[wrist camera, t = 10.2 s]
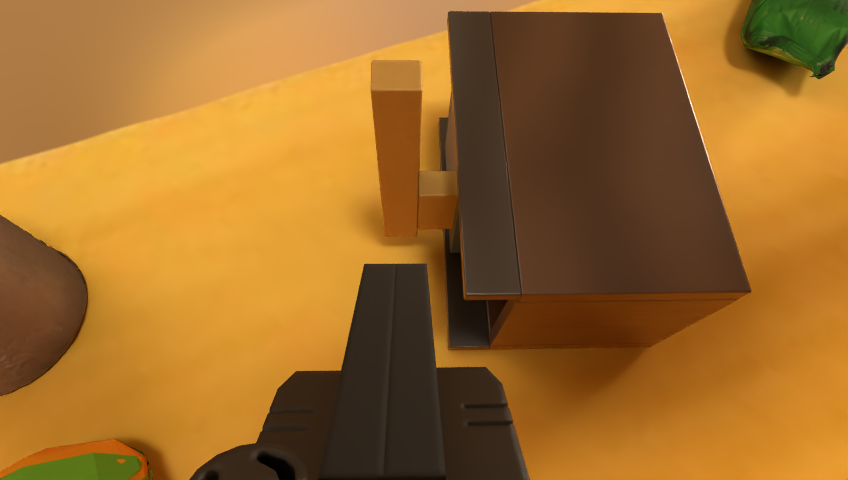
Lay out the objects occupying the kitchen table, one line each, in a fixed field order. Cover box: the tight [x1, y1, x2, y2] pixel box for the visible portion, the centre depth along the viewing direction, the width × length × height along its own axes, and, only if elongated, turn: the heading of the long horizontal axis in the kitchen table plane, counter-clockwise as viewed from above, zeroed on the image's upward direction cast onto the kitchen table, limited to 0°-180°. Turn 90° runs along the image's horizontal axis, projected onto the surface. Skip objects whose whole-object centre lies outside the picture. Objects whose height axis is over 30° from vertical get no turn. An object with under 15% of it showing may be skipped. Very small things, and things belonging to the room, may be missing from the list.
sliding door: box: [371, 60, 461, 253], centre depth 27 cm, size 5×8×14 cm, turn 1°
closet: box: [439, 11, 751, 350], centre depth 29 cm, size 12×17×10 cm
